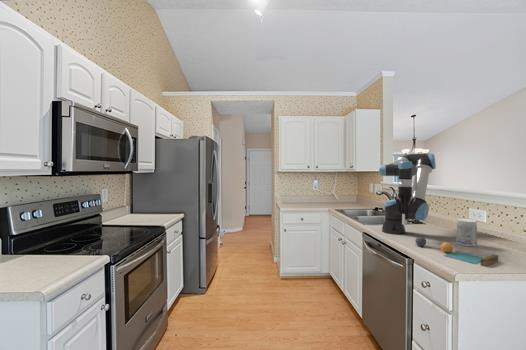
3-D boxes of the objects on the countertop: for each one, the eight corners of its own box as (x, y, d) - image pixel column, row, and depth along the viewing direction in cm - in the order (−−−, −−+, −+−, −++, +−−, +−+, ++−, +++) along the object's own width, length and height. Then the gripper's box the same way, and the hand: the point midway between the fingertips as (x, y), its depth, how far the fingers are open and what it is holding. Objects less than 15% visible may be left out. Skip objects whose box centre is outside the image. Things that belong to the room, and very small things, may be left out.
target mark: (443, 255, 141) (443, 255, 141) (457, 251, 148) (457, 251, 148) (475, 264, 129) (475, 263, 129) (488, 259, 135) (488, 258, 135)
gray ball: (413, 245, 159) (413, 236, 159) (418, 244, 162) (418, 235, 162) (422, 248, 154) (422, 238, 154) (428, 246, 157) (428, 237, 157)
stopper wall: (480, 265, 127) (480, 258, 127) (493, 260, 134) (493, 254, 133) (485, 266, 125) (485, 260, 125) (498, 261, 132) (498, 255, 132)
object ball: (438, 252, 147) (438, 242, 147) (443, 250, 150) (444, 240, 150) (449, 254, 142) (449, 244, 142) (454, 253, 145) (455, 243, 145)
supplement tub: (464, 242, 166) (465, 218, 166) (480, 246, 157) (481, 221, 157) (452, 243, 164) (452, 219, 163) (467, 247, 155) (468, 222, 154)
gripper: (391, 185, 170) (391, 223, 170) (411, 187, 158) (411, 227, 159) (399, 185, 173) (398, 222, 174) (419, 186, 162) (418, 225, 162)
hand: (404, 224), depth 166 cm, fingers closed
